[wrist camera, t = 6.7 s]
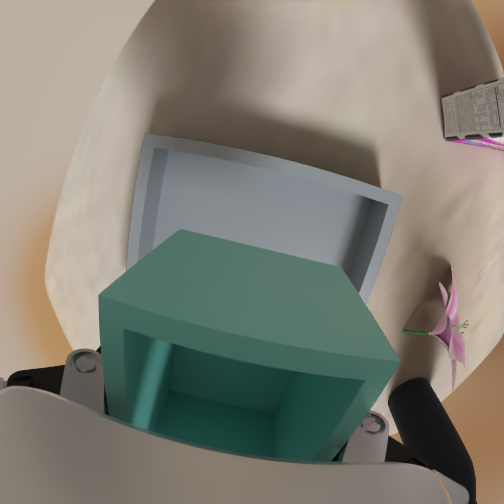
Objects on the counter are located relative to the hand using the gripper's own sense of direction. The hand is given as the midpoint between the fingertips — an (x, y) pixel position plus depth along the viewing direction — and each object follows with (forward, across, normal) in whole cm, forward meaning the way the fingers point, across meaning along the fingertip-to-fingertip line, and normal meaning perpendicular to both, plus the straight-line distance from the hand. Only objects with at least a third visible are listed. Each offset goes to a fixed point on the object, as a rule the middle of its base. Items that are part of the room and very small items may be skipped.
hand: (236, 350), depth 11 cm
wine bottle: (+16, -25, +15) cm, 33 cm away
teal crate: (+1, 0, 0) cm, 1 cm away
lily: (+16, -21, +2) cm, 26 cm away
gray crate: (+15, 0, 0) cm, 15 cm away
